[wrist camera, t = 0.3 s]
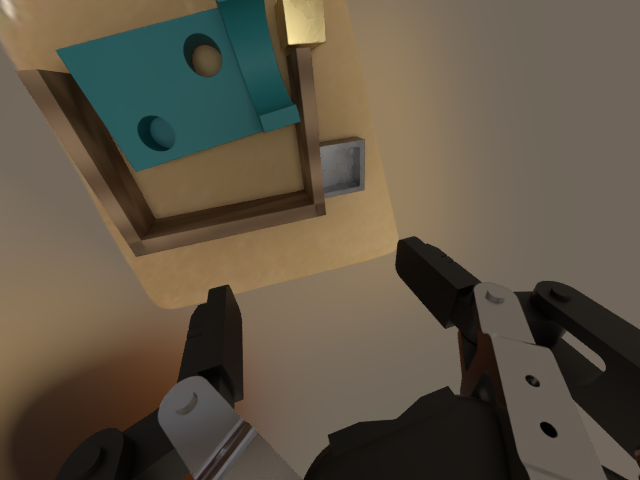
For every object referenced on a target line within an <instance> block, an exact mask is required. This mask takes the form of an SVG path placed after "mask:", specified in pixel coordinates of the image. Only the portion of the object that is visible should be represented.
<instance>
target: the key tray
mask: <svg viewBox="0 0 640 480" xmlns="http://www.w3.org/2000/svg"><path fill="white" fill-rule="evenodd" d="M319 145H320V156H321V167H322V178H323V189H324V198H328V197H333V196H338V195H343V194H347V193H352V192H357V191H362V190H364V181H365V139H362V138H359V137H350V138H344V139H338V140H332V141H325V142H319Z"/></svg>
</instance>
